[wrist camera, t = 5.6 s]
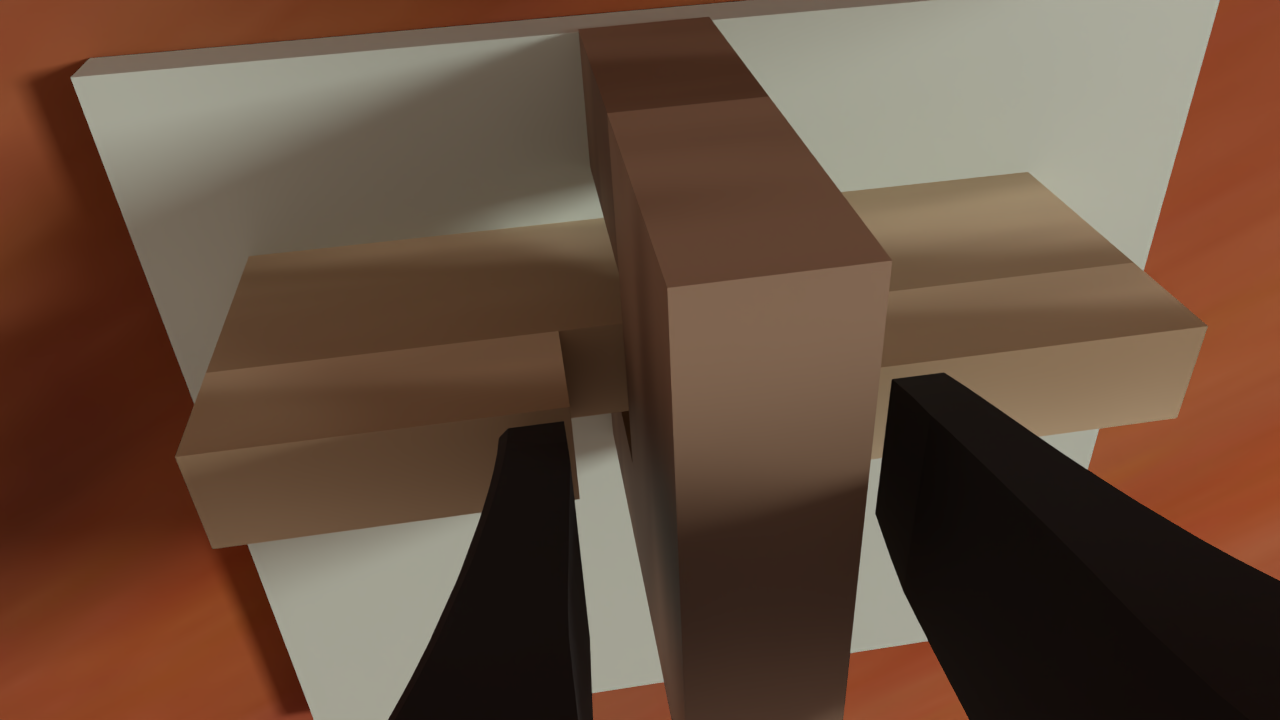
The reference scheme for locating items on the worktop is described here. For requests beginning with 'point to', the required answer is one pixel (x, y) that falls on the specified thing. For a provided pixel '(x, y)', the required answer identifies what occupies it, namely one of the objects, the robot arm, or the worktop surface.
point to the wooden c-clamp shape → (735, 371)
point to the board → (565, 191)
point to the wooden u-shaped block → (595, 357)
